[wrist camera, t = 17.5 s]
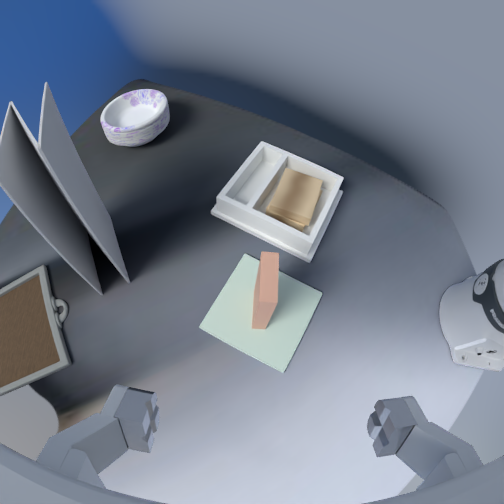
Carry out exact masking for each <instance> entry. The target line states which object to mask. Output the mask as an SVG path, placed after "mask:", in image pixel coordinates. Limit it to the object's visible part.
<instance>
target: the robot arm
mask: <svg viewBox="0 0 504 504" xmlns="http://www.w3.org/2000/svg"><path fill="white" fill-rule="evenodd" d="M439 318H440V324H441V328H442V332H443V334H444V336H445V338H446V340H447V342H448V344H449V346H450V350H451V355H452V359H453V362H454V363H455V364H459V365H464V366H469V367H475V368H480V369H486V370H492V371H501V370H502V369H503V368H504V259H501V260H499V261H497V262H496V263H494V264H493V265H492V266H490V267H489V268H487V269H486V270H485V271H484V272H482V273H480V274H478V275H476V276H474V277H473V276H471V277H469V278H467V279H466V280H465V281H464V282H461V283H458V284H454V285H452V286H450V287H449V288H448V289H447V290H446V291H445V293H444V294H443V296H442V299H441V302H440V308H439ZM462 357H463V359H462ZM156 402H157V395H156V393H155V392H150V391H145V390H141V389H136V388H131V387H126V386H122V385H118V384H117V385H116V386H114V387H113V389H112V391H111V393H110V395H109V397H108V399H107V401H106V403H105V405H104V407H103V409H102V411H101V413H100V414H99V413H96V414H94V415H92V416H90V417H88V418H86V419H84V420H83V421H81V422H79V423H77V424H75V425H73V426H71V427H69V428H67V429H65V430H64V431H62V432H60V433H58V434H56V435H54V436H52V437H50V438H49V439H48V441H47V443H46V445H45V446H44V448H43V450H42V452H41V453H40V455H39V457H38V459H37V461H34V460H32V459H30V458H28V457H26V456H24V455H22V454H20V453H18V452H16V451H14V450H12V449H10V448H9V447H7V446H5V445H3V444H1V443H0V504H166V503H161V502H156V501H151V500H146V499H142V498H138V497H133V496H130V495H126V494H122V493H118V492H115V491H111V490H108V489H106V487H105V486H104V484H103V482H102V481H101V479H100V478H99V476H98V474H99V473H100V472H101V471H103V470H104V469H105V468H106V467H108V466H109V465H110V464H111V463H113V462H114V461H115V460H116V459H118V458H119V457H120V456H121V455H123V454H124V453H125V452H126V451H128V449H132V450H137V451H142V452H147V453H151V449H152V446H153V442H154V436H153V433H154V432H156V431H157V429H158V425H159V418H160V417H159V407H158V406H157V405H156ZM374 408H375V410H376V411H375V412H373V413H372V414H371V415H370V417H369V419H368V424H367V429H368V433H369V436H370V437H371V438H372V439H374V443H373V447H374V450H375V453H376V456H377V457H382V456H388V455H394V454H396V456H397V457H398V458H399V459H401V460H402V461H403V462H404V463H405V464H406V465H407V466H409V467H410V468H411V469H412V470H413V471H414V472H415V473H417V474H418V475H419V476H420V477H421V478H422V479H424V481H423V482H422V483H421V484H420V485H419V486H418V488H417V489H416V491H414V492H410V493H407V494H403V495H399V496H395V497H391V498H387V499H383V500H378V501H374V502H369V503H363V504H504V455H503V456H502V457H500V458H498V459H496V460H494V461H492V462H490V463H487V464H485V465H483V463H482V462H481V460H480V458H479V456H478V455H477V453H476V451H475V450H474V448H473V446H472V445H470V444H469V443H467V442H465V441H463V440H462V439H460V438H458V437H456V436H455V435H453V434H451V433H450V432H448V431H446V430H444V429H443V428H441V427H439V426H438V425H436V424H434V423H433V422H428V420H427V418H426V417H425V415H424V413H423V411H422V410H421V408H420V406H419V405H418V403H417V401H416V399H415V398H414V397H413V396H407V397H401V398H392V399H384V400H379V401H377V402H376V404H375V406H374Z"/></svg>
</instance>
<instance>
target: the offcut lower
mask: <svg viewBox="0 0 504 504" xmlns="http://www.w3.org/2000/svg"><path fill="white" fill-rule="evenodd" d="M321 194H322V190H320V192H319V196H318V199H317V202H318V201H319V199H320V197H321ZM271 201H272V200H271ZM317 202H316V204H317ZM270 203H271V202H270ZM270 203H269V205H268V206H267V208H266V212H265V215H267V216H270V217H272V218H274V219H276V220H278V221H280V222H282V223H284V224H286V225H288V226H290V227H292V228H294V229H296V230H298V231H300V232H302V231H303V229H304V227H305V224H302V223H299V222H296V221H293V220H290V219H288V218H285V217H282V216H279V215H276V214H273V213H270V212H269V207H270ZM315 206H316V205H315Z"/></svg>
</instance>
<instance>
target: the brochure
mask: <svg viewBox="0 0 504 504" xmlns="http://www.w3.org/2000/svg"><path fill="white" fill-rule="evenodd" d="M0 186H1V188H2V189H3V190H4V192H5V193H6V194H7V195H8V197H9V198H10V199H11V200H12V202H13V203H14V204H15V205H16V206H17V208H18V209H19V210H20V211H21V213H22V214H23V215H24V216H25V217H26V218H27V220H28V221H29V222H30V223H31V224H32V225H33V226H34V228H35V229H36V230H37V231H38V232H39V233H40V234H41V235H42V236H43V238H44V239H45V240H46V241H47V242H48V243H49V244H50V245H51V246H52V247H53V248H54V249H55V250H56V252H57V253H58V254H59V255H60V256H61V257H62V258H63V259H64V260H65V261H66V262H67V263H68V264H69V265H70V266H71V267H72V268H73V269H74V270H75V271H76V272H77V273H78V274H79V275H80V276H81V277H82V278H83V279H84V280H85V281H87V282H88V283H89V284H90V285H91V286H92V287H93V288H94V289H95V290H96V291H97V292H98V293H99V294H100V295H103V293H102V290H101V286H100V283H99V279H98V275H97V271H96V267H95V264H94V259H93V255H92V251H91V247H90V242H89V238H88V233H89V235H90V236H91V237H92V238H93V240H94V241H95V242H96V244H97V245H98V246H99V248H100V249H101V250H102V251H103V253H104V254H105V255H106V256H107V258H108V259H109V260H110V261H111V263H112V264H113V265H114V266H115V267H116V269H117V270H118V271H119V272H120V274H121V275H122V276H123V277H124V278H125V280H126V281H127V282H128V283H130V280H129V277H128V274H127V271H126V268H125V265H124V261H123V258H122V255H121V252H120V248H119V245H118V242H117V238H116V235H115V231H114V228H113V224H112V220H111V217H110V215H109V213H108V212H107V210H106V208H105V206H104V204H103V202H102V201H101V199H100V197H99V195H98V193H97V191H96V189H95V187H94V185H93V183H92V181H91V180H90V178H89V176H88V174H87V172H86V170H85V168H84V166H83V164H82V161H81V159H80V157H79V155H78V153H77V151H76V149H75V147H74V145H73V142H72V140H71V138H70V136H69V134H68V131H67V129H66V127H65V125H64V122H63V120H62V118H61V115H60V113H59V111H58V108H57V106H56V103H55V101H54V98H53V96H52V93H51V91H50V88H49V86H48V83H47V82H46V83H45V87H44V93H43V101H42V108H41V118H40V128H39V142H38V143H37V141H36V140H35V138H34V137H33V135H32V134H31V132H30V130H29V129H28V128H27V126H26V124H25V122H24V121H23V119H22V118H21V116H20V114H19V113H18V111H17V109H16V108H15V106H14V104H13V103H12V101H11V102H10V103H9V106H8V110H7V113H6V117H5V120H4V124H3V128H2V132H1V136H0ZM87 232H88V233H87Z"/></svg>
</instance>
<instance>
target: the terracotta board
mask: <svg viewBox="0 0 504 504" xmlns="http://www.w3.org/2000/svg"><path fill="white" fill-rule="evenodd" d="M278 274H279V253H272V252H262V253H261V258H260V263H259V268H258V273H257V278H256V283H255V288H254V299H253V315H252V329H266V327H267V325H268V322H269V320H270V318H271V316H272V314H273V312H274V310H275V307H276V305H277V303H278Z"/></svg>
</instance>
